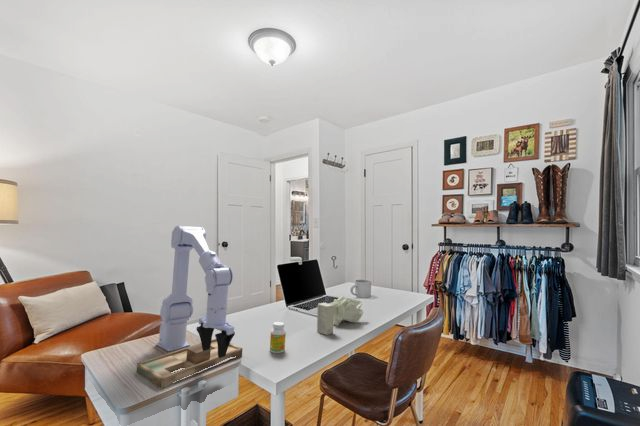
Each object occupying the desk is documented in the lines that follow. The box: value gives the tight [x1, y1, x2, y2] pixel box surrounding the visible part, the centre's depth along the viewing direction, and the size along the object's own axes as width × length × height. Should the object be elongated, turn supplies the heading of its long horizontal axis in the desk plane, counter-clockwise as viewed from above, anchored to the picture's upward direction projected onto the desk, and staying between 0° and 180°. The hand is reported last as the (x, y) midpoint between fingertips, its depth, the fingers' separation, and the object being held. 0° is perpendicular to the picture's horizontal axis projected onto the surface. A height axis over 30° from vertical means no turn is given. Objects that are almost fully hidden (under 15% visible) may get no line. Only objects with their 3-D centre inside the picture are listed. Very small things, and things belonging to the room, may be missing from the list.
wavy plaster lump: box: [331, 295, 364, 327], centre depth 148 cm, size 18×13×16 cm
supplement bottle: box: [269, 321, 287, 354], centre depth 111 cm, size 5×5×10 cm
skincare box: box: [316, 302, 334, 336], centre depth 133 cm, size 6×4×12 cm
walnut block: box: [186, 343, 211, 365], centre depth 96 cm, size 5×5×4 cm
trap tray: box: [135, 338, 244, 389], centre depth 97 cm, size 14×28×3 cm, turn 145°
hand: (213, 353), depth 91 cm, fingers open, 7 cm apart
